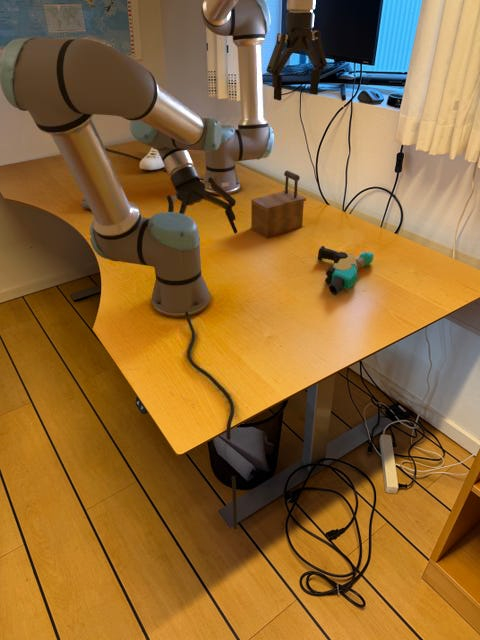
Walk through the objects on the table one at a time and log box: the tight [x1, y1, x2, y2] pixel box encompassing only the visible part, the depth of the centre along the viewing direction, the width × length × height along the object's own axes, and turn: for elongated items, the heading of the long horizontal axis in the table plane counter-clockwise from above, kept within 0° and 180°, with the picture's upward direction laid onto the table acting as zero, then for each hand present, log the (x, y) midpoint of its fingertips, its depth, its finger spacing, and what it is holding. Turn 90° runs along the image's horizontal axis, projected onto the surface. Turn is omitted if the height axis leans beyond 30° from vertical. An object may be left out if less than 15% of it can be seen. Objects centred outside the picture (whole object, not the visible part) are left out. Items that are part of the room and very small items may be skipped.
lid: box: [250, 170, 307, 212], centre depth 154 cm, size 16×9×9 cm, turn 123°
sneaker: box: [139, 147, 165, 171], centre depth 214 cm, size 10×29×12 cm, turn 163°
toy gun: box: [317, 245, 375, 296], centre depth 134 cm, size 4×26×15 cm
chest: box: [250, 201, 305, 239], centre depth 159 cm, size 15×9×9 cm, turn 123°
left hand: (213, 242), depth 131 cm, fingers open, 13 cm apart
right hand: (295, 96), depth 141 cm, fingers open, 13 cm apart
